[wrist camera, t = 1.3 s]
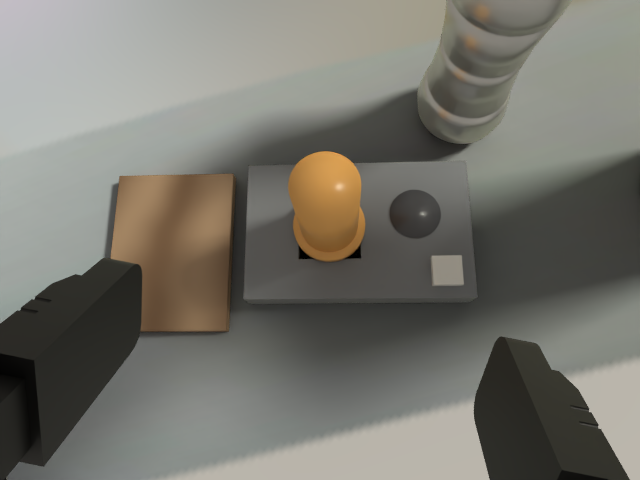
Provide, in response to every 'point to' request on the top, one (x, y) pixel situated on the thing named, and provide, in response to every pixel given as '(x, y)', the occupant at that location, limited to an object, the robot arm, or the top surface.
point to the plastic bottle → (480, 63)
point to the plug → (327, 206)
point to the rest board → (179, 248)
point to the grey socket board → (367, 239)
